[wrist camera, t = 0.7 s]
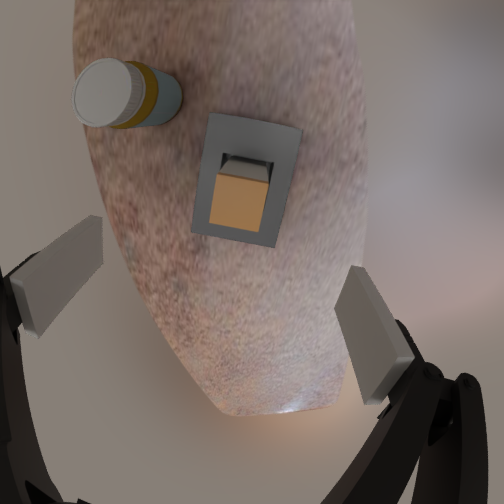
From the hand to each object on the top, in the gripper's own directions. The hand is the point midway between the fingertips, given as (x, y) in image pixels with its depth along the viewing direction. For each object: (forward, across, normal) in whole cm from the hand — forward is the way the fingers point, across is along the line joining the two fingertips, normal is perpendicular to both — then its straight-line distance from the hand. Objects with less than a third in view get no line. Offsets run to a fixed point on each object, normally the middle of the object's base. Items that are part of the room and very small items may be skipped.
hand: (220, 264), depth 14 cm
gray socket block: (+24, 0, 0) cm, 24 cm away
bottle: (+24, -13, +8) cm, 29 cm away
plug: (+23, 0, 0) cm, 23 cm away
